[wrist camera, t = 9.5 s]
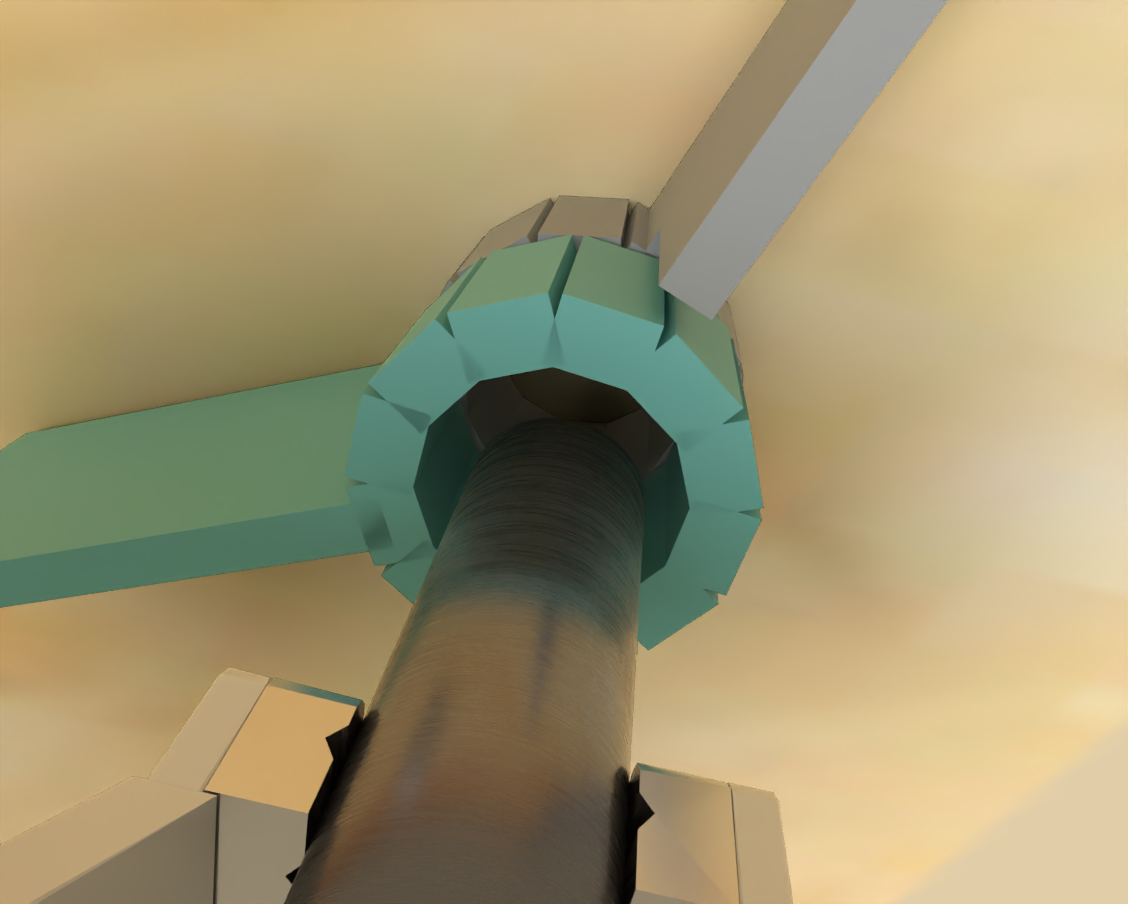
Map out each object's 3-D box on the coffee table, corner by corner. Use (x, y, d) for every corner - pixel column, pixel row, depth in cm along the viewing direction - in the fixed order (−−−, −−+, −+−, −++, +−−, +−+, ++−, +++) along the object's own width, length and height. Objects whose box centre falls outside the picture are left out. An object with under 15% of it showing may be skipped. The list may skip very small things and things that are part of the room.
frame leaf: (626, 507, 25) (610, 708, 18) (404, 374, 24) (292, 530, 17) (1212, -250, 17) (1620, -443, 10) (913, -506, 16) (1121, -940, 8)
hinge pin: (610, 595, 16) (484, 1759, 5) (449, 541, 16) (-6, 1625, 5) (671, 453, 15) (669, 1633, 4) (496, 393, 15) (17, 1445, 4)
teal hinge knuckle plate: (703, 170, 20) (723, 257, 13) (748, 446, 23) (783, 636, 16) (-27, 333, 24) (-313, 467, 17) (89, 553, 27) (-116, 746, 20)
